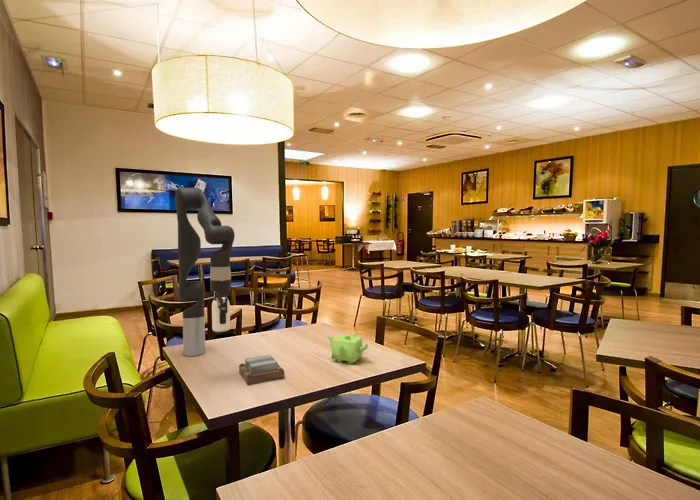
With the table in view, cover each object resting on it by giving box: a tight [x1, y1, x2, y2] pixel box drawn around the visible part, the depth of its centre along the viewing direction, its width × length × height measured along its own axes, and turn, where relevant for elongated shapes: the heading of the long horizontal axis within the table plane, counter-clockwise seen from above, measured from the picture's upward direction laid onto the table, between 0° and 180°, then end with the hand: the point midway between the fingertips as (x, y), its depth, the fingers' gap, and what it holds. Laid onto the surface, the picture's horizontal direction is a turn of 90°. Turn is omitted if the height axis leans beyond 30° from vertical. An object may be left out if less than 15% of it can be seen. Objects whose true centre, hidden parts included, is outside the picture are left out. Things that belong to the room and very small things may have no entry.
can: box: [211, 298, 231, 333], centre depth 146 cm, size 6×6×12 cm
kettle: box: [325, 332, 369, 365], centre depth 167 cm, size 15×14×11 cm
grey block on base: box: [238, 354, 285, 386], centre depth 150 cm, size 14×14×6 cm
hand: (221, 321), depth 146 cm, fingers closed on can, 6 cm apart
